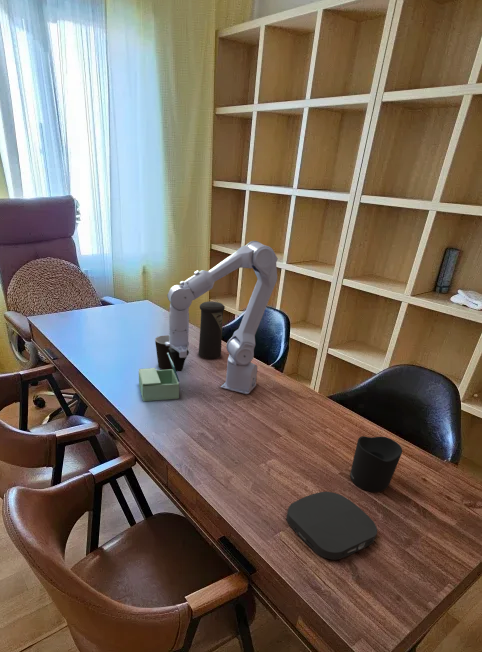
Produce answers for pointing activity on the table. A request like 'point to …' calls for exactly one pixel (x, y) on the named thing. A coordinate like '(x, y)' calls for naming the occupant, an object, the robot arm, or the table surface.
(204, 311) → the container
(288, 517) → the media streaming box
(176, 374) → the lid
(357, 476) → the pen holder
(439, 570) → the table surface
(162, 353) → the coffee mug
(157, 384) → the box
